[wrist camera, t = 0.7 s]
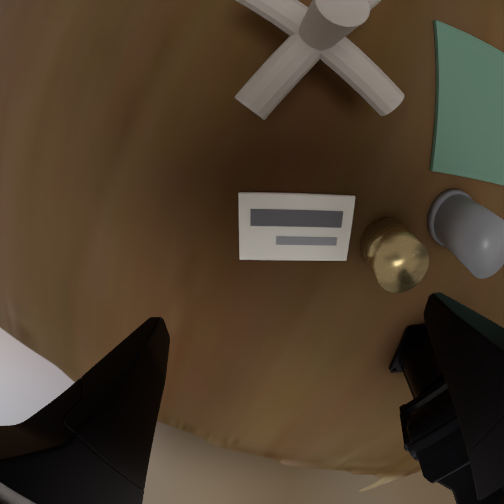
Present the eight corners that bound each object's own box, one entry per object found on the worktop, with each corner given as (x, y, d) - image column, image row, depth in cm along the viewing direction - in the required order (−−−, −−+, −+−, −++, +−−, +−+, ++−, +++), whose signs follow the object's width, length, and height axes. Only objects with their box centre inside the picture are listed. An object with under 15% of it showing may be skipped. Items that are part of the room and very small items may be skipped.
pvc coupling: (462, 243, 21) (501, 280, 16) (421, 242, 21) (458, 282, 16) (475, 191, 19) (520, 219, 13) (433, 185, 19) (479, 213, 13)
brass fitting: (400, 264, 22) (420, 291, 18) (356, 264, 22) (371, 293, 18) (410, 218, 20) (435, 241, 17) (364, 215, 20) (383, 239, 17)
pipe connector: (287, -32, 12) (307, -117, 3) (401, 59, 15) (498, 41, 6) (190, 66, 16) (125, 31, 7) (311, 157, 18) (358, 205, 10)
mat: (519, 188, 18) (522, 190, 18) (429, 169, 18) (432, 171, 18) (527, 69, 12) (530, 70, 12) (433, 21, 13) (435, 20, 12)
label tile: (345, 258, 22) (346, 261, 21) (239, 257, 22) (239, 260, 22) (354, 195, 19) (355, 197, 19) (238, 192, 20) (238, 193, 19)
